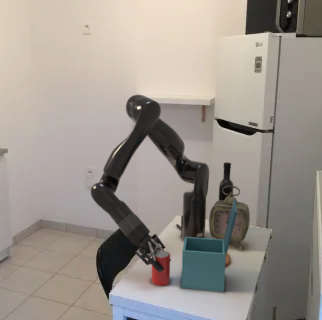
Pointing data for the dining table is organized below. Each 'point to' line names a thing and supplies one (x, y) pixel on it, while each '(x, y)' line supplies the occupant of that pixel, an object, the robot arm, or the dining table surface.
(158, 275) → the can
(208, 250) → the teal open box
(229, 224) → the teal box lid
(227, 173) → the wine bottle
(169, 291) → the dining table surface
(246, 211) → the tabletop clock
